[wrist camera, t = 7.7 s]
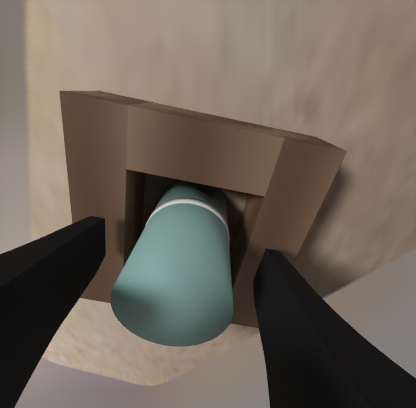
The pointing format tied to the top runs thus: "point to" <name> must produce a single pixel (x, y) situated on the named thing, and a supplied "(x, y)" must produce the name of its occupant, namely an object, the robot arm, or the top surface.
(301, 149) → the stand
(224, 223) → the peg
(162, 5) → the top surface
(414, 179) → the top surface
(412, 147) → the top surface
